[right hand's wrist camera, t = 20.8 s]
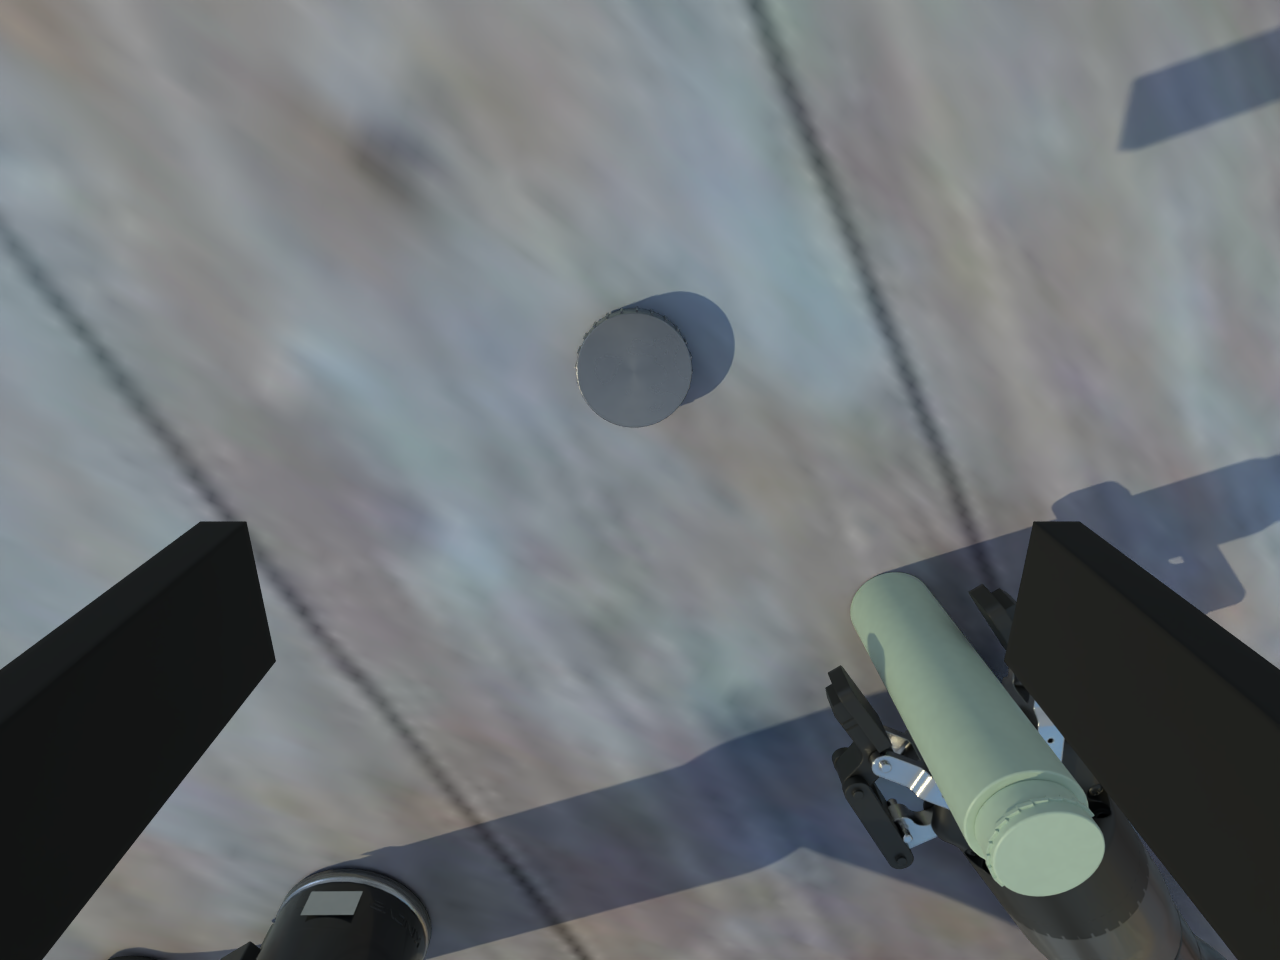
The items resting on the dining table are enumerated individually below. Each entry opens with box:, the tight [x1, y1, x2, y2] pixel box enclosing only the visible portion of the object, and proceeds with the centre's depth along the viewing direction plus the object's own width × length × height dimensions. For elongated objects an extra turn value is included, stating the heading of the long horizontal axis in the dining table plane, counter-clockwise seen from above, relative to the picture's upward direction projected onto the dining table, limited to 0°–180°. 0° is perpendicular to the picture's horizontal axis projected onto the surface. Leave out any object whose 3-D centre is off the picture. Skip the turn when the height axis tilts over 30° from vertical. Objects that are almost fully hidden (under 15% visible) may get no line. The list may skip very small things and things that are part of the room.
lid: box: [575, 307, 693, 427], centre depth 34 cm, size 5×5×2 cm
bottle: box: [850, 572, 1105, 896], centre depth 31 cm, size 4×4×16 cm
